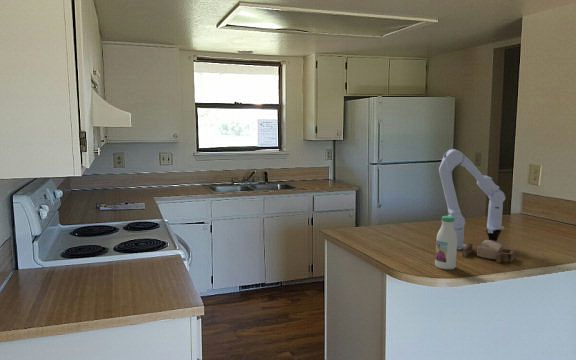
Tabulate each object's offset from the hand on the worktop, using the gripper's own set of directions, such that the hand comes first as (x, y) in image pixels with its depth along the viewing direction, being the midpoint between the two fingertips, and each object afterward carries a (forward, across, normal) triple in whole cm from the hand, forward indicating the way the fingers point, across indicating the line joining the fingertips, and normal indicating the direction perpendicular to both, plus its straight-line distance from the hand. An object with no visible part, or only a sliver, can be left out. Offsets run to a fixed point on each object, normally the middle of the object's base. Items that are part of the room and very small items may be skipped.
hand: (492, 245), depth 199 cm
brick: (+2, -9, -1) cm, 10 cm away
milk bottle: (+2, -38, +9) cm, 39 cm away
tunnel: (+1, -15, -2) cm, 15 cm away
